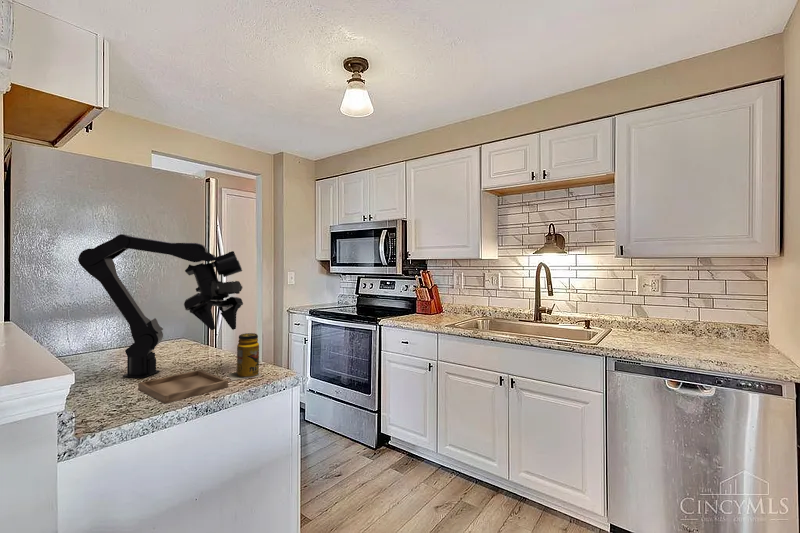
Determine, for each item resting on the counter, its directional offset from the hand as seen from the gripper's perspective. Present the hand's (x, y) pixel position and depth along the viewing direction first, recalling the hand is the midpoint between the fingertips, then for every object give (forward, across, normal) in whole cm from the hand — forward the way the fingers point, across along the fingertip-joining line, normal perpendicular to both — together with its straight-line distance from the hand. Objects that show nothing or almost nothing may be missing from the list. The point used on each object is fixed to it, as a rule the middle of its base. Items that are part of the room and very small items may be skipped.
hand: (224, 329), depth 114 cm
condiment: (+14, +4, +2) cm, 15 cm away
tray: (+12, -10, +9) cm, 19 cm away
